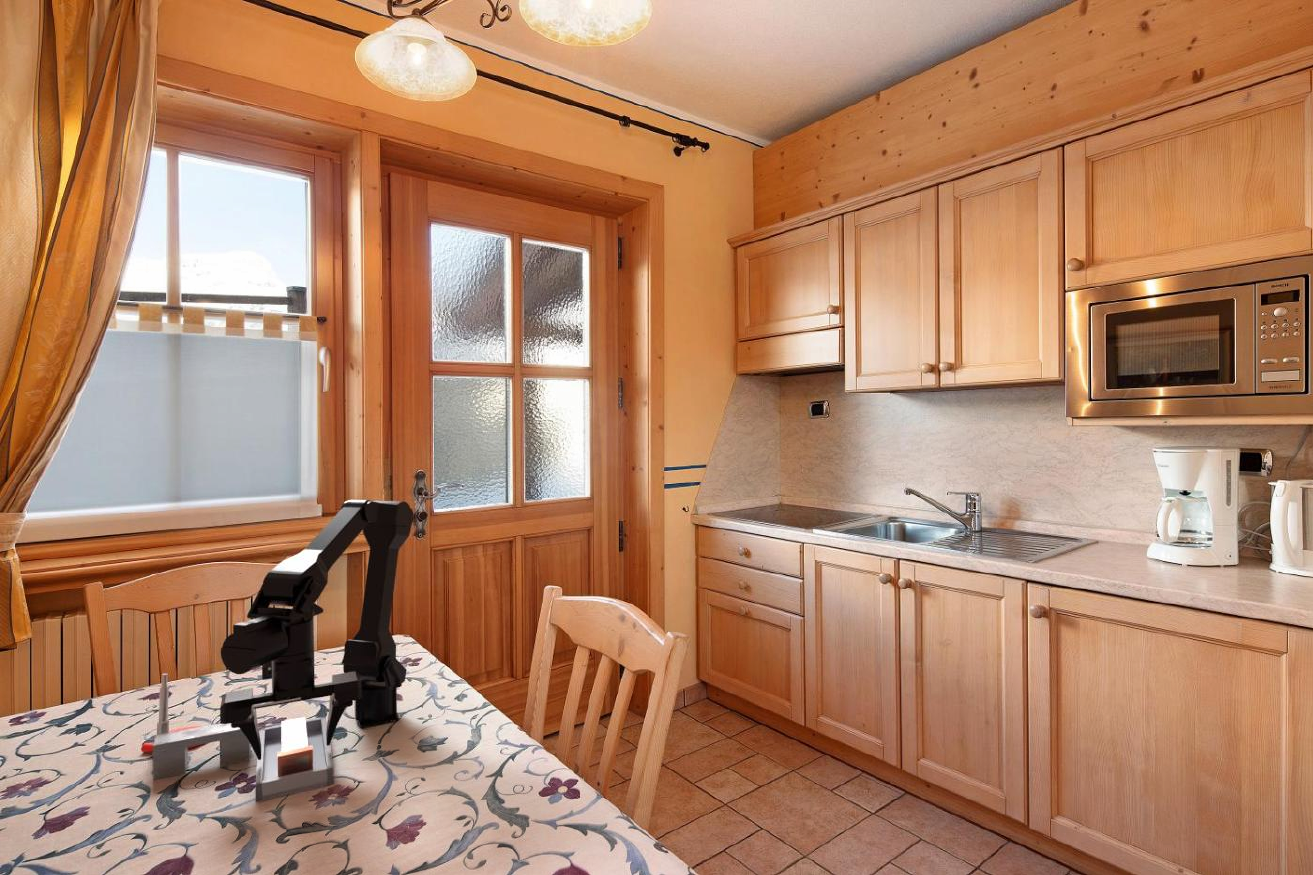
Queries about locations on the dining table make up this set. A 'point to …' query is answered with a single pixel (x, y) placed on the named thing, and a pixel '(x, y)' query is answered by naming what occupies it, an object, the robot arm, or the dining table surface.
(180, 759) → the block
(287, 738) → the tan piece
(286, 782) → the tray
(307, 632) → the robot arm
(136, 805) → the dining table surface
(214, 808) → the dining table surface
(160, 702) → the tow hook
